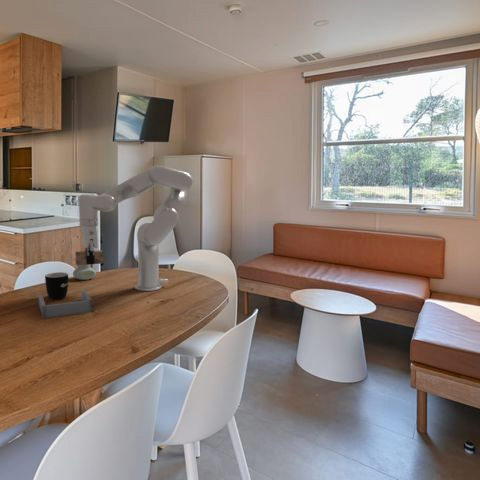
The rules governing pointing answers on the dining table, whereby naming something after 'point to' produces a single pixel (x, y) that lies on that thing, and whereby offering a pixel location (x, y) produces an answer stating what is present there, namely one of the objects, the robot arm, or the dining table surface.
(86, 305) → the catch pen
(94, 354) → the dining table surface
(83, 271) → the air freshener
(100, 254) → the light brown rectangular block
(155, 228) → the robot arm
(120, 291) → the dining table surface
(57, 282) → the mug
